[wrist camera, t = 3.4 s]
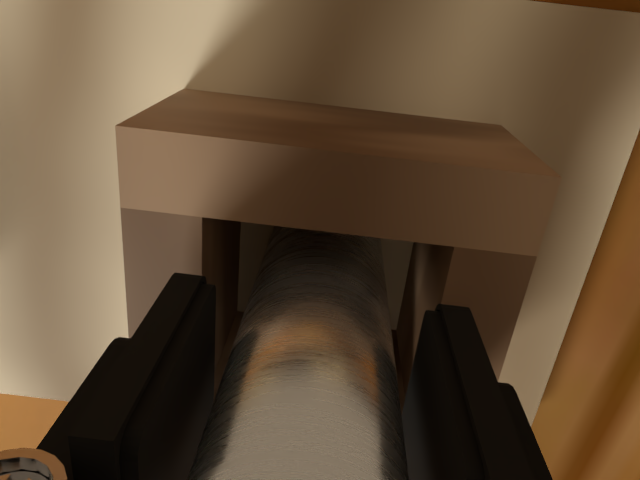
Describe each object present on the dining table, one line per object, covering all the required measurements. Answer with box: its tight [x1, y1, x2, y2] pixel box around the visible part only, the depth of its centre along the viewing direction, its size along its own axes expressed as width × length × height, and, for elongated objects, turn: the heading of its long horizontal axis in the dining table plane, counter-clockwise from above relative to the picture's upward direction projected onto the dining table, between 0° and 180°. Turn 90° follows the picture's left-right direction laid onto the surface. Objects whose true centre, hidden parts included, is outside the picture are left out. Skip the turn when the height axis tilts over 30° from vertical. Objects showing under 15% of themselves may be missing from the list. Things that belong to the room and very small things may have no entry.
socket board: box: [0, 0, 640, 426], centre depth 13 cm, size 28×13×6 cm, turn 84°
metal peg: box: [187, 226, 409, 480], centre depth 10 cm, size 3×3×10 cm
